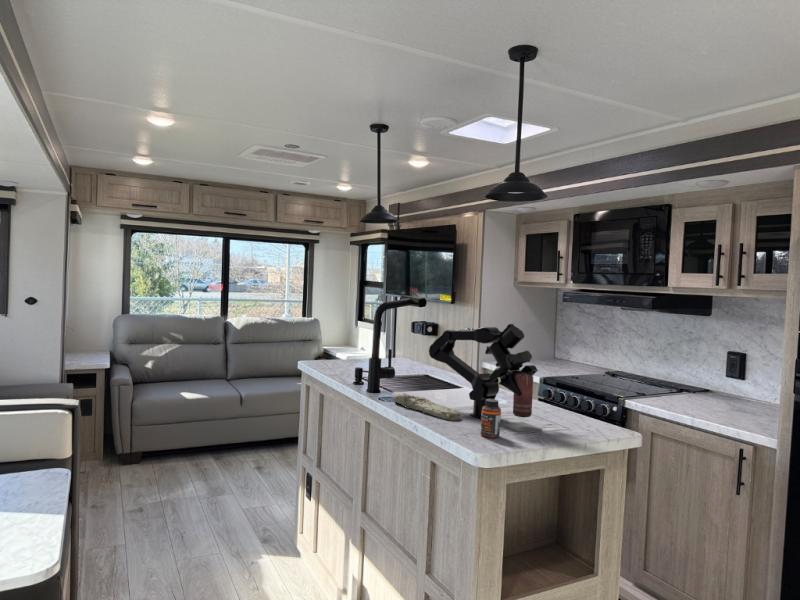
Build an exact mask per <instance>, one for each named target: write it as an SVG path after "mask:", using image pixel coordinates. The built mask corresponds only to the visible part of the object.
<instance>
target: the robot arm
mask: <svg viewBox="0 0 800 600" xmlns="http://www.w3.org/2000/svg"><path fill="white" fill-rule="evenodd" d="M441 334H442V335H440V336H439V337H438V338H436V339H435V340H434V342H432V344H431V345H429V347H428V348H429V349H428V353H429V357H430V358H431V359H433V360H435V361H436V362H440V363H444V364H445V365H447V366H448V367H450V368H451V370H453V371H454V372H456V373H457V374H458V375H459V376H461V377H462V378H463V379H465V381H467V382H468V383H470V385H471V388H472V389H471V391H470V392H469V393H468V395H469V400H471V401H472V400H473V408H472V413H471V412H470V413H469V416H472V417H474V418H477V419H481V416H482V407H483V406H485V405H486V404H485V402H486V399H496V397H497V395H498V394H499V391H500V385H501V386H502V387H504V388H506V389H508V390H510V391H511V392H512V393H513V394H514V393H515V394H517V395H518V396H521V395H522V393H521V391H520V389H519V388H518V385H517V383H516V381H515V375H516V373H530V374H532V376H533V377H534V375H535V374H536V373H537V372H538V368H537V366H536V365H535V364H529V365H523V364H525V363H530V362H531V360H532V359H533V358H532V357H533V355H532V354H531V352H530V351H529V350H524V351H522V352H520V351H519V352H517V353H516V354H515V353H512V352H510V350H509V349H511V350H513V349H514V348H515V347H516V346H517V345H518V344H519V343H520V342H522V340H523V339H525V334H524V332H523V330H521V329H520V328H519V327H517V326H516V325H515V324H514V323H509V324H508V325H507V326H506V328H504V329H503V330H502V331H501V330H500V329H499V328H498V327H496V326H490V327H489V326H483V327H479V328H475V329H472V330H471V329H469V330H463V329H462V330H457V329H456V330H455V329H446V330H444V332H442V333H441ZM456 341H474V342H476V343H480V344H490V345H489V346H486V349H485V353H484V354H485V355H492V356H493V358H494V360H495V361H496V363H495V367H496V368H495V369H494V370H493V371H492V372H491V373H489V372H484V373H479V372H478V371H477V370H475V369H474V368H473V367H471V366H470V365H469V364H467V362H465V361H463V360H462V358H459V357H458V356H457V355H456V354H455V352H454V348H455V346H456V345H455V344H456ZM522 367H523V368H522ZM520 368H521V369H520ZM499 379H500V380H499Z"/></svg>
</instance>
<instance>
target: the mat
mask: <svg viewBox="0 0 800 600" xmlns="http://www.w3.org/2000/svg"><path fill="white" fill-rule="evenodd" d="M500 427H502V428H503V427H504V428H506V429H508V430H511V431H513V432H516V433H525V432H524V431H527V432H535V431H534V430H538V431H543V428H541V427H537V426H536V425H532V424H530V423H527V422H525V421H515V422H506V423H501V422H500Z"/></svg>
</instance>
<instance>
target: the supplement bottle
mask: <svg viewBox="0 0 800 600" xmlns="http://www.w3.org/2000/svg"><path fill="white" fill-rule="evenodd" d="M485 404H486V405H485V406H483V407H482V416H481V420H480V435H481V436H482V437H484V438H488V439H498V438H499V437H500V432H501V425H500V424H501V418H502V417H501V416H502V414H501V413H502V409H501V407H500V406H499V400H498V399H496V398H495V399H486V402H485Z"/></svg>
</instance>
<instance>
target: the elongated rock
mask: <svg viewBox="0 0 800 600" xmlns="http://www.w3.org/2000/svg"><path fill="white" fill-rule="evenodd" d="M393 400H394V403H396V402H397V403H399V404H401V405H404V406H406V407H408V408H412V409H411V410H413V409H414V410H413V411H417V410H418V411H421V412H422V413H423V414H428V415H430V416H432V417H435V416H436V417H435V418H438V417H439V418H438V419H443V420H447V421H460V420H461V414H460V413H459V411H457V410H456V409H453V408H450V407H447V406H444V405H442V404H441V405H440V404H436V403H435V402H433V401H431V400H430V399H427V398H425V397H423V396H421V397H420V396H415V395H410V394H407V393H403V394H395V395H394V396H393ZM397 403H396V404H397ZM399 404H398V405H399ZM401 405H400V406H401ZM404 406H403V407H404ZM408 408H407V409H408ZM459 419H460V420H459Z"/></svg>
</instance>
